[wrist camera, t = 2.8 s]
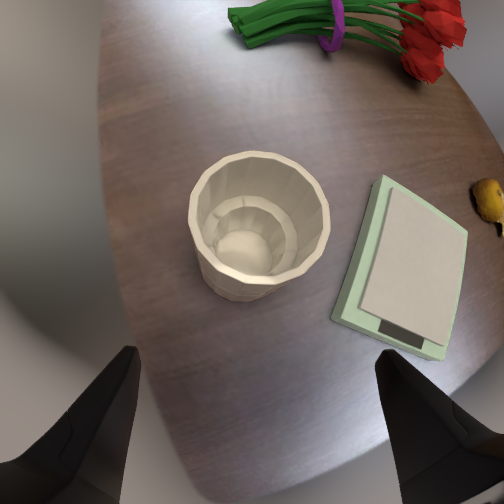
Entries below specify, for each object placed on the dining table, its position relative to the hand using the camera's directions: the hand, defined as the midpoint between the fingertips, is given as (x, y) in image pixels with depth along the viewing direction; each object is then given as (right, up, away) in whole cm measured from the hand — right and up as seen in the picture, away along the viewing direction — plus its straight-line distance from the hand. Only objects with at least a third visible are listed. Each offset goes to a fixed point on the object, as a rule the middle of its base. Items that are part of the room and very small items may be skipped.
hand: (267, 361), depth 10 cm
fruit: (+32, +9, +20) cm, 39 cm away
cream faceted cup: (-1, +3, +14) cm, 14 cm away
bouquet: (+11, +32, +23) cm, 41 cm away
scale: (+14, +2, +15) cm, 21 cm away
